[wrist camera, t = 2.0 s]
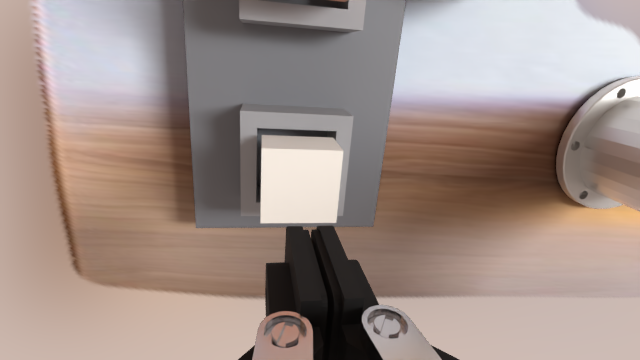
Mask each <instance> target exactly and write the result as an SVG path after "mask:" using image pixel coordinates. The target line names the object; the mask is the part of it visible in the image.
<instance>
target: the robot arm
mask: <svg viewBox="0 0 640 360" xmlns="http://www.w3.org/2000/svg"><path fill="white" fill-rule="evenodd" d="M556 172H557V177H558V181H559V183H560V186H561V188H562V190H563V191H564V192H565V193H566V195H567V196H568V197H570V198H571V199H573V200H574V201H575V202H578V203H580V204H582V205H584V206H586V207H590V208H594V209H609V208H614V207H618V206H621V205H626V206H628V207H630V208H633V209H635V210H637V211H640V76H635V77H628V78H624V79H621V80H619V81H616V82H613V83H611V84H610V85H608V86H606V87H604V88H602V89H601V90H600V91H598V92H597V93H596V94H594V95H593V96H592V97H590V98H589V99H588V100H587V101H586V102H585V103H584V104H583V105H582V107H581V108H580V109H579V110H578V111H577V113H576V114H575V115H574V117H573V118H572V119H571V121H570V122H569V124H568V126H567V128H566V130H565V131H564V133H563V136H562V139H561V141H560V144H559V147H558V152H557V158H556ZM265 295H266V318H265V319H264V320H263V321H262V322H261V323H260V326H259V328H258V333H257V337H256V342H255V346H253V347H252V348H251V349H250V350H249V351H248V352H247V353H245V354H244V355H243V356H242V357H241V358H239V359H238V360H459V359H457V358H455V357H453V356H451V355H449V354H447V353H445V352H443V351H441V350H439V349H437V348H435V347H433V346H432V345H430V344H429V342H428V341H427V340H426V338H425V337H424V336H423V335H422V333H421V332H420V331H419V330H418V329H417V327H416V326H415V324H414V323H413V322H412V320H411V319H410V318H409V317H408V316H407V315H406V314H405V313H404V312H402V311H400V310H399V309H397V308H394V307H391V306H386V305H379V304H378V302H377V299H376V297H375V295H374V293H373V291H372V289H371V287H370V285H369V283H368V281H367V279H366V277H365V275H364V273H363V270H362V268H361V266H360V264H359V262H358V261H357V260H348V258H347V256H346V254H345V252H344V249H343V247H342V245H341V242H340V240H339V238H338V236H337V233H336V231H335V229H334V227H333V225H329V226H317V230H312V232H311V238H310V235H309V231H308V230H303V227H302V226H287V228H286V247H285V262H283V263H266V288H265Z"/></svg>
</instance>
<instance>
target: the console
mask: <svg viewBox="0 0 640 360" xmlns="http://www.w3.org/2000/svg"><path fill="white" fill-rule="evenodd" d="M405 4H406V0H348V1H346V2H341V1H332V0H183V13H184V31H185V48H186V65H187V82H188V99H189V116H190V133H191V151H192V168H193V185H194V202H195V219H196V228H260V227H287V226H302V227H317V226H329V225H333V227H373V226H374V219H375V212H376V205H377V198H378V191H379V184H380V177H381V170H382V163H383V156H384V149H385V142H386V135H387V129H388V122H389V115H390V108H391V101H392V94H393V87H394V80H395V73H396V66H397V59H398V52H399V45H400V39H401V32H402V25H403V18H404V11H405ZM262 135H277V136H304V137H331V138H334V139H335V141H336V142H337V143H338V144H339V146H340V147H341V148H342V149H343V161H342V171H341V181H340V191H339V201H338V210H337V220H336V223H260V216H261V150H262Z"/></svg>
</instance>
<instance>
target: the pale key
mask: <svg viewBox="0 0 640 360" xmlns="http://www.w3.org/2000/svg"><path fill="white" fill-rule="evenodd" d="M342 161H343V149H342V148H341V147H340V146H339V144H338V143H337V142H336V141H335V139H334V138H331V137H304V136H277V135H262V150H261V216H260V223H336V220H337V210H338V201H339V191H340V181H341V171H342Z"/></svg>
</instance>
